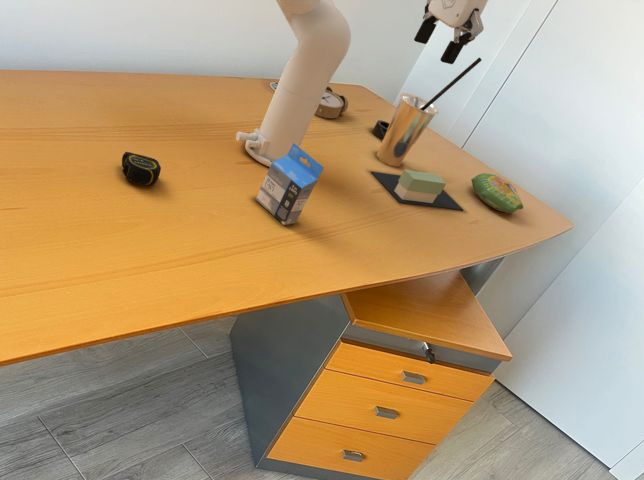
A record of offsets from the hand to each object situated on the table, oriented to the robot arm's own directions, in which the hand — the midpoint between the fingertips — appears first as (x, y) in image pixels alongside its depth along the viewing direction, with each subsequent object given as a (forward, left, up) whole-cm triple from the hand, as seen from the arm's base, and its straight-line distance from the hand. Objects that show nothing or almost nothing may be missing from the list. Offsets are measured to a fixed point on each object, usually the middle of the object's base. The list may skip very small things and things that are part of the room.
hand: (432, 52), depth 141 cm
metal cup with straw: (+17, +13, -31) cm, 37 cm away
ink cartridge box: (-32, -17, -31) cm, 47 cm away
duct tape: (+24, +28, -31) cm, 48 cm away
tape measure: (-59, -10, -31) cm, 67 cm away
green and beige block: (+12, -4, -30) cm, 33 cm away
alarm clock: (+10, +39, -31) cm, 51 cm away
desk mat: (+16, -1, -30) cm, 34 cm away
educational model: (+41, -1, -31) cm, 51 cm away
